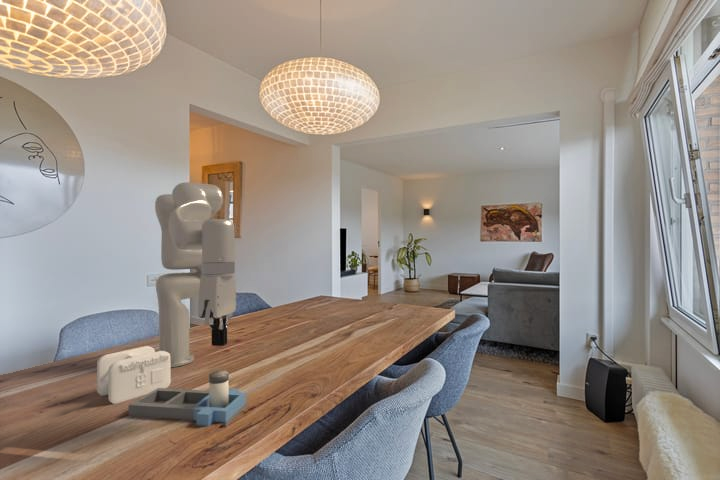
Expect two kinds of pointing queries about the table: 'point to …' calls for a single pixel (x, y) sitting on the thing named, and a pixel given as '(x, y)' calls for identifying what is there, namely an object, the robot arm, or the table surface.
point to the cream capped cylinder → (219, 389)
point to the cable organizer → (132, 373)
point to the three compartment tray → (187, 406)
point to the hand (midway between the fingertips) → (219, 344)
